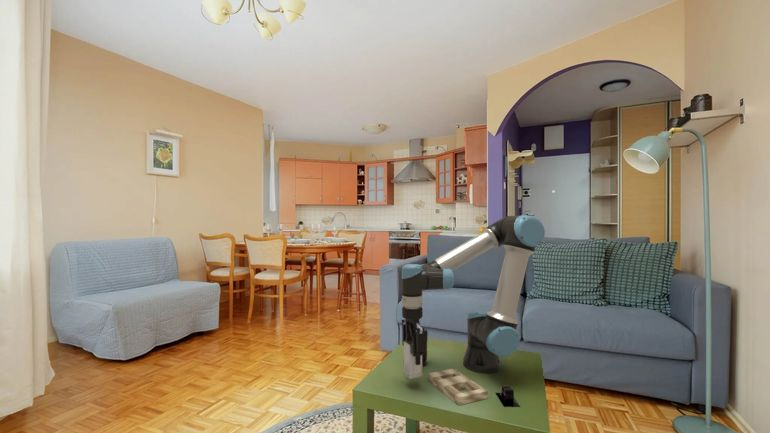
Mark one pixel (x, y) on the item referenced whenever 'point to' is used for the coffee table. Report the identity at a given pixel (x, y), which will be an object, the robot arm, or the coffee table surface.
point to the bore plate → (457, 386)
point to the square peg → (410, 360)
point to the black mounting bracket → (507, 397)
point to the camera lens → (425, 346)
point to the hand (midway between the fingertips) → (413, 369)
